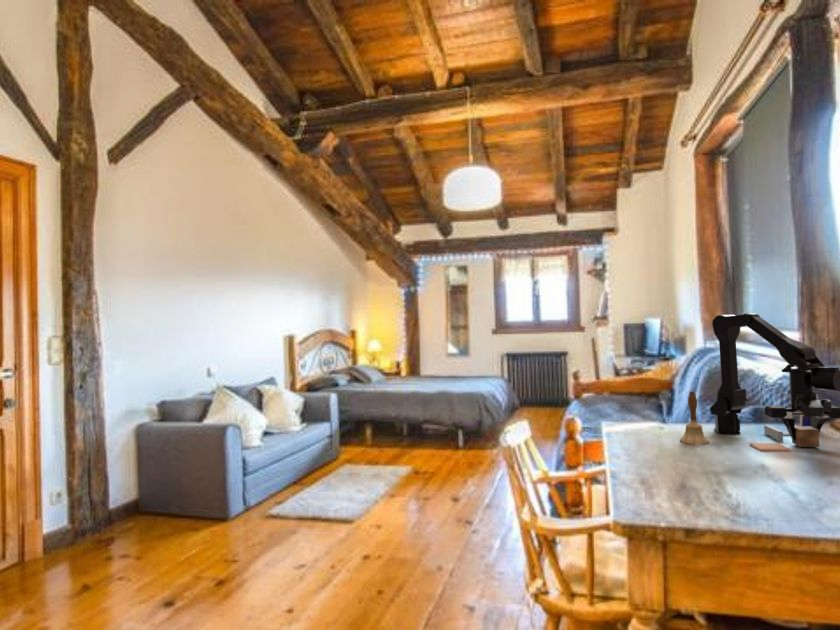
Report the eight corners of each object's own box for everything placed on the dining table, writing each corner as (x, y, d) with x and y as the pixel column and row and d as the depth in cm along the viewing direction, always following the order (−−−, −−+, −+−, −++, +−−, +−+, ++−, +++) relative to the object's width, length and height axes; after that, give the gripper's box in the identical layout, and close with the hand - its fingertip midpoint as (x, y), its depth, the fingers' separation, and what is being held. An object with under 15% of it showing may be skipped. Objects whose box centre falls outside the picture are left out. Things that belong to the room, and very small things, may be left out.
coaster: (760, 451, 158) (759, 449, 158) (749, 444, 166) (749, 443, 166) (791, 451, 156) (790, 449, 156) (779, 445, 164) (778, 443, 164)
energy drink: (796, 429, 185) (794, 394, 185) (806, 427, 187) (804, 392, 187) (813, 432, 180) (811, 395, 180) (823, 430, 182) (821, 394, 182)
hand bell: (714, 444, 168) (711, 392, 169) (687, 445, 169) (684, 393, 169) (701, 438, 177) (698, 389, 177) (675, 439, 177) (673, 390, 177)
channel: (778, 441, 169) (778, 431, 169) (764, 434, 180) (764, 424, 180) (811, 441, 167) (810, 431, 167) (794, 434, 178) (794, 424, 178)
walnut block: (800, 446, 159) (799, 429, 159) (792, 442, 164) (791, 426, 164) (819, 446, 158) (818, 429, 158) (810, 442, 163) (810, 426, 163)
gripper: (778, 392, 156) (780, 446, 156) (852, 391, 152) (855, 447, 152) (762, 387, 167) (765, 438, 167) (831, 386, 163) (834, 438, 163)
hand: (804, 440), depth 162 cm, fingers closed on walnut block, 5 cm apart
